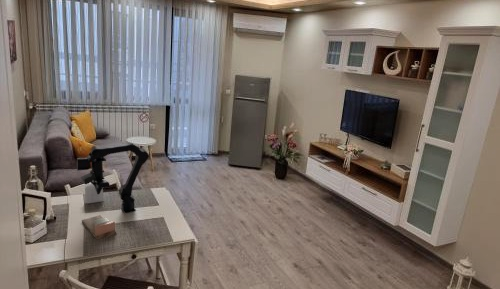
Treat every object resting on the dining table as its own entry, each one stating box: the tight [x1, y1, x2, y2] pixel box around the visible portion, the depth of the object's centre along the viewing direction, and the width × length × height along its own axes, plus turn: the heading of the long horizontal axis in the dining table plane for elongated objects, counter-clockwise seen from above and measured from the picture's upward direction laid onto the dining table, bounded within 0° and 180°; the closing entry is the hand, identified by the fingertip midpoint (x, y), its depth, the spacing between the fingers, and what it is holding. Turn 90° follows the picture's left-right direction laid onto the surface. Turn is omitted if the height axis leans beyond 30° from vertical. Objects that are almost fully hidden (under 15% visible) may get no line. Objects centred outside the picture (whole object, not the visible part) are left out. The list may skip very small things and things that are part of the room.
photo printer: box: [84, 182, 104, 204], centre depth 216 cm, size 10×4×12 cm, turn 123°
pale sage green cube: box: [94, 217, 111, 226], centre depth 184 cm, size 6×5×5 cm
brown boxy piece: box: [81, 214, 117, 240], centre depth 187 cm, size 10×22×6 cm, turn 44°
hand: (98, 194), depth 199 cm, fingers closed
